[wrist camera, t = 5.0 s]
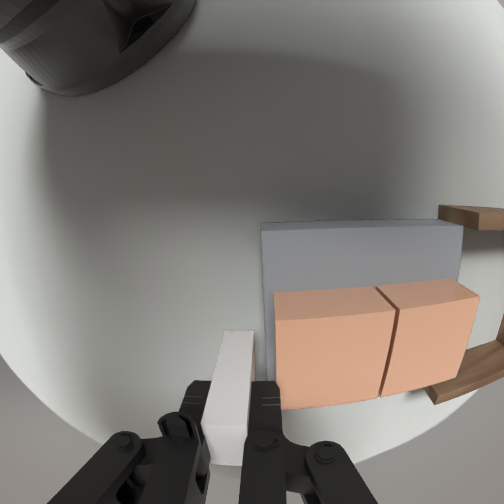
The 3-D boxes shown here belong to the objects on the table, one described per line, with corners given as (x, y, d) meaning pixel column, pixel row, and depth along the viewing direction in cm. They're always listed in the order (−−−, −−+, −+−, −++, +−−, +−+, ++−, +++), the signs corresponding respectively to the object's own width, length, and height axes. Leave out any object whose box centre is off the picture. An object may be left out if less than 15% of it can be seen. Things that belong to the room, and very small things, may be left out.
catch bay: (439, 204, 16) (479, 213, 11) (524, 210, 15) (557, 218, 11) (412, 372, 19) (434, 405, 15) (498, 345, 18) (522, 366, 14)
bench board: (261, 223, 17) (260, 231, 14) (438, 219, 16) (463, 226, 13) (268, 382, 20) (268, 409, 17) (415, 363, 19) (430, 384, 16)
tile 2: (376, 285, 14) (400, 309, 11) (450, 277, 14) (480, 296, 11) (365, 365, 16) (380, 397, 12) (433, 352, 15) (455, 377, 12)
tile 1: (273, 292, 15) (275, 320, 11) (372, 286, 14) (395, 310, 11) (275, 374, 16) (276, 409, 13) (361, 366, 16) (376, 398, 12)
